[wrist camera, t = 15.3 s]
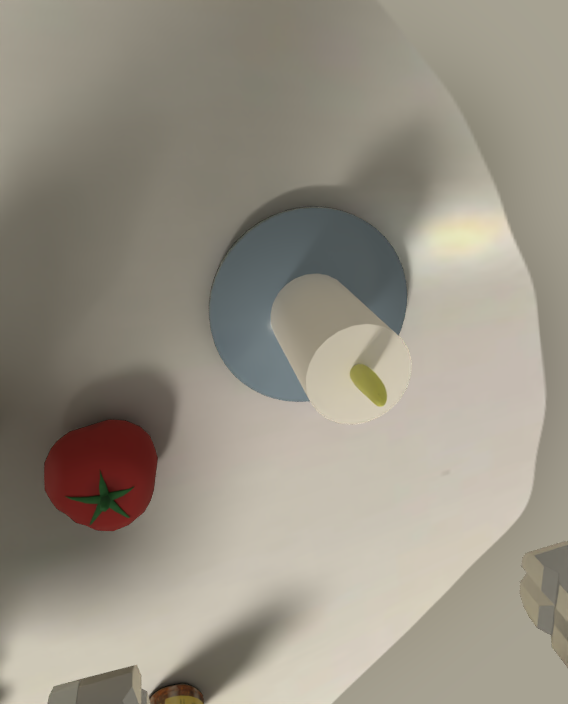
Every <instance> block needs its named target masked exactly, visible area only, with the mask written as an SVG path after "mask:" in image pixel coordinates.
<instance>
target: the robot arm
mask: <svg viewBox="0 0 568 704" xmlns="http://www.w3.org/2000/svg"><path fill="white" fill-rule="evenodd" d="M521 567H522V568H523V569H524V570H525V571H526V574H525V576H524V577H523V579H522V580H521V581H520V597H521V600H522V603H523V607H524V609H525V610H526V612H527V614H528V616H529V618H530V619H531V620H532V622H533V623H534V624H535V626H536V627H537V628H538V629H540V630H542V631H544V632H546V633H548V634H550V635H551V646H552V648H553V649H554V651H555V652H556V653H557V654H558V656H559V657H560V658H561V660H562V661H563V662H564V664H565V665H566V666H567V668H568V541H563V542H560V543H556V544H553V545H550V546H547V547H543V548H540V549H537V550H533V551H530V552H527V553H525V555H524V556H523V557H522V565H521ZM48 704H150V699H149V696H148V693H147V691H145V690H143V689H141V674H140V671H139V669H138V666H137V665H134V666H130V667H126V668H122V669H118V670H114V671H110V672H106V673H103V674H99V675H95V676H91V677H87V678H83V679H79V680H76V681H72V682H68V683H65V684H61V685H57V686H54V687H53V689H52V691H51V693H50V695H49V699H48Z"/></svg>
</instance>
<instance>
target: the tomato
mask: <svg viewBox="0 0 568 704" xmlns="http://www.w3.org/2000/svg"><path fill="white" fill-rule="evenodd" d="M157 460H158V457H157V454H156V450H155V447H154V445H153V442H152V440H151V437H150V436H149V435H148V434H147V433H146V432H145V431H144V430H143V429H142V428H141V427H140V426H137V425H135V424H133V423H130V422H128V421H126V420H106V421H102V422H99V423H96V424H93V425H90V426H86V427H83V428H80V429H77V430H73V431H70V432H68V433H67V434H66V435H64V436H63V437H62V438H60V439H59V440H58V441H57V442H56V443H55V444H54V445H53V447H52V448H51V450H50V452H49V454H48V456H47V458H46V461H45V463H44V483H45V491H46V493H47V495H48V497H49V498H50V500H51V502H52V503H53V504H54V506H55V507H56V508H57V509H58V510H59V511H61V512H63V513H65V514H66V515H67V516H69V517H70V518H71V519H72V520H73V521H74V522H76V523H79V524H82V525H86V526H88V527H90V528H93V529H95V530H98V531H115V530H117V529H120V528H122V527H125V526H127V525H129V524H130V523H132V522H133V521H134V520H135V519H136V518H137V517H139V516H140V515H141V514H142V513H143V512H144V511H145V510H146V508H147V506H148V504H149V503H150V501H151V498H152V494H153V491H154V484H155V476H156V468H157Z"/></svg>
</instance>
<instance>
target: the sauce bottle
mask: <svg viewBox="0 0 568 704" xmlns="http://www.w3.org/2000/svg"><path fill="white" fill-rule="evenodd" d="M149 699H150V704H204V700H203V695H202V694H201V692H200V691H199V690H198V689H196V688H195V687H192V686H191V685H187V684H177V685H173V686H167V687H164V688H162V689H160V690H159V691H157V692H155V693H154V694H153V695H152V697H150V698H149Z"/></svg>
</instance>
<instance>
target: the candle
mask: <svg viewBox="0 0 568 704" xmlns="http://www.w3.org/2000/svg"><path fill="white" fill-rule="evenodd" d="M270 315H271V326H272V329H273V332H274V335H275V337H276V338H277V340H278V342H279V344H280V346H281V348H282V350H283V352H284V353H285V355H286V357H287V359H288V361H289V363H290V365H291V367H292V368H293V370H294V372H295V374H296V376H297V378H298V380H299V382H300V384H301V385H302V387H303V389H304V391H305V393H306V395H307V397H308V399H309V400H310V402H311V404H312V405H313V406H314V408H315V409H316V410H317V412H318V413H320V414H321V415H323V416H324V417H325V418H327V419H328V420H331V421H334V422H337V423H340V424H352V425H353V424H359V423H365V422H368V421H371V420H373V419H376V418H378V417H380V416H381V415H383V414H384V413H386V412H387V411H389V410H390V409H391V408H392V407H393V406H394V405H395V404H396V403H397V402H398V401H399V400H400V398H401V397H402V395H403V393H404V392H405V390H406V389H407V386H408V383H409V380H410V377H411V366H412V361H411V357H410V353H409V350H408V348H407V346H406V344H405V343H404V341H403V339H402V338H400V337H399V336H398V335H397V334H396V333H395V332H394V331H393V330H392V329H391V328H389V327H388V326H387V325H386V324H385V323H384V322H383V321H382V320H381V319H380V318H378V317H377V316H376V315H375V314H374V313H373V312H372V311H371V310H370V309H369V308H368V307H366V306H365V305H364V304H363V303H362V302H361V301H360V300H359V299H358V298H357V297H355V296H354V295H353V294H352V293H351V292H350V291H349V290H348V289H347V288H346V287H344V286H343V285H342V284H341V283H340V282H339V281H338V280H337V279H334V278H332V277H330V276H328V275H323V274H317V273H316V274H307V275H303V276H300V277H298V278H295V279H294V280H292V281H291V282H289V283H288V284H286V285H285V286H284V287H283V288H282V290H281V291H280V292H279V293H278V294H277V296H276V298H275V300H274V302H273V305H272V310H271V314H270Z"/></svg>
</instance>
